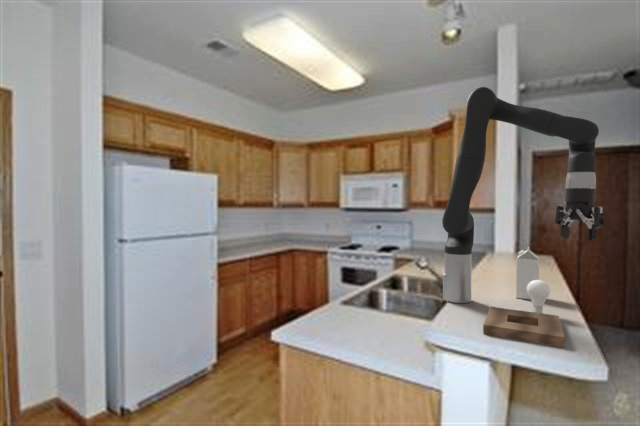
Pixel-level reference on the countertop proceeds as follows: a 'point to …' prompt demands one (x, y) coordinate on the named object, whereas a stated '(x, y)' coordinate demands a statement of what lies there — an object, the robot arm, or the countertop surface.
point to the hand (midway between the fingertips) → (577, 239)
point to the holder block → (524, 326)
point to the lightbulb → (538, 294)
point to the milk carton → (526, 272)
